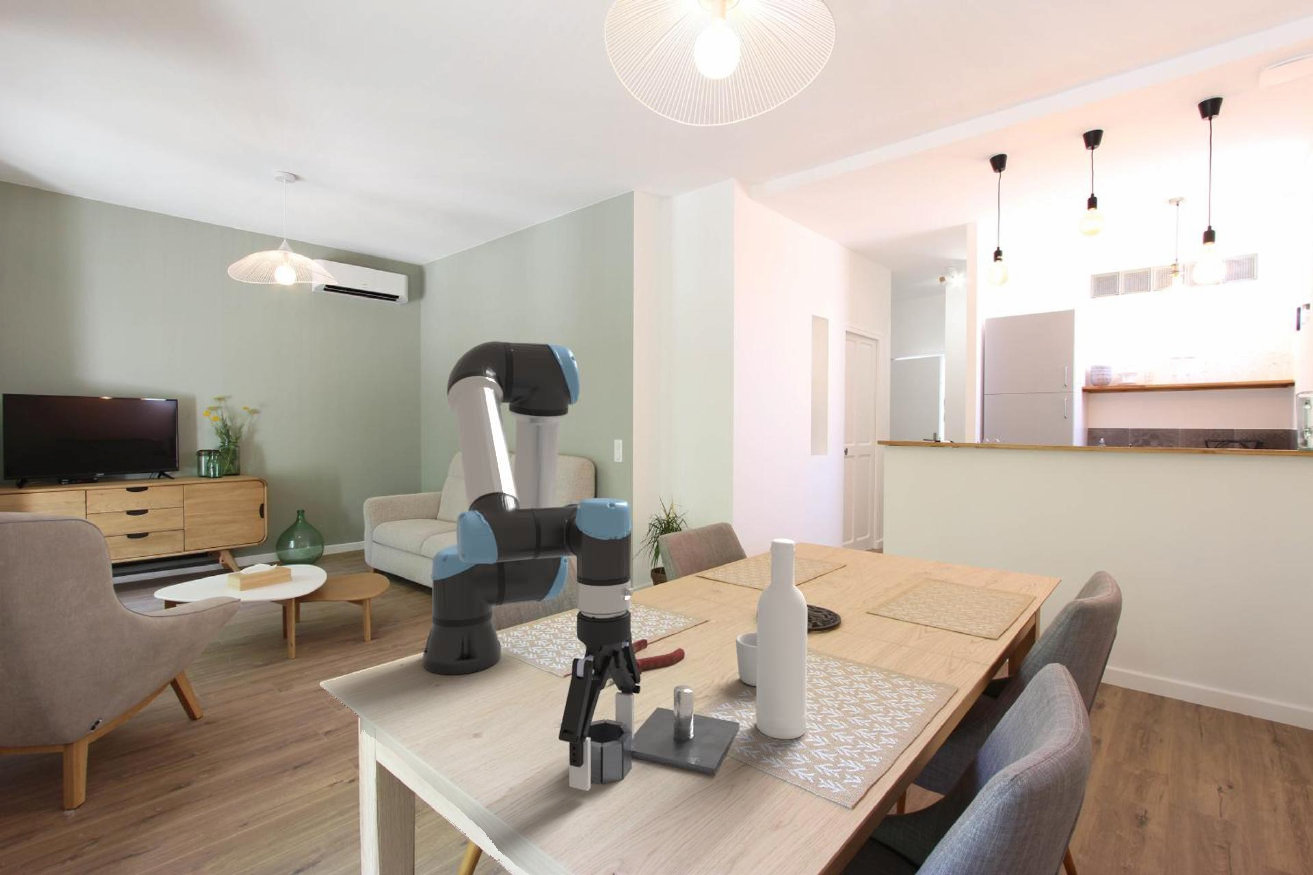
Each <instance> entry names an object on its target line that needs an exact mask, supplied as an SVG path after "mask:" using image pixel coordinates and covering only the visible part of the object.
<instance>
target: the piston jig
mask: <svg viewBox="0 0 1313 875" xmlns="http://www.w3.org/2000/svg"><path fill="white" fill-rule="evenodd" d="M694 691H695V690H694V688H693V687H691V686H689V685H686V684H685V685H683V684H681V685H677V686H675V687H674V688H673V709H670V708H664V707H658V706H657V707H656V709H654V711H653V712H652V713H651V714H650V715H649V716H648V717H647V719H646V720H645V721H644V722H643V723H642V725H641V726H640V727H639V728H638V729H637V730H636V731H635V732H634V738H633V739H632V759H633V758H635V759H639V760H643V761H647V762H650V763H651V762H652V763H656V764H660V765H665V766H669V767H674V768H679V769H683V770H687V771H692V772H696V773H700V774H705V775H709V776H713V777H714V776H716V774H717V772H718V770H719V768H720V766H721V764H722V763H723V761H724V759H725V757H726V755H727V753H728V751H729V749H730V748H731V745H732V744H733V742H734V740H735V738H736V736H737V735H738V732H739V731H740V727H741V725H740V722H737V721H733V720H728V719H727V720H726V719H723V718H722V719H721V718H717V717H716V718H715V717H711V716H706V715H700V714H695V713H694V693H695V692H694Z"/></svg>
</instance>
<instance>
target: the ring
mask: <svg viewBox="0 0 1313 875" xmlns="http://www.w3.org/2000/svg"><path fill="white" fill-rule="evenodd" d="M587 737H589V738H591V783H594V784H596V785H597V784H598V785H601V784H602V785H606V784H611V783H614V782H619V781H621V780H622V779H625V778H626V777H627V775H628V774H629V772H630V771H631V770H632V768H633V763H632V762H633V757H632V731H631V730H630V729H629V728H628V726H627V725H626V724H624V723H623V722H619V721H615V720H613V719H609V718H607V719H606V718H603V719H598V720H594V721H591V725H590V728H589V731H588V735H587Z"/></svg>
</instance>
